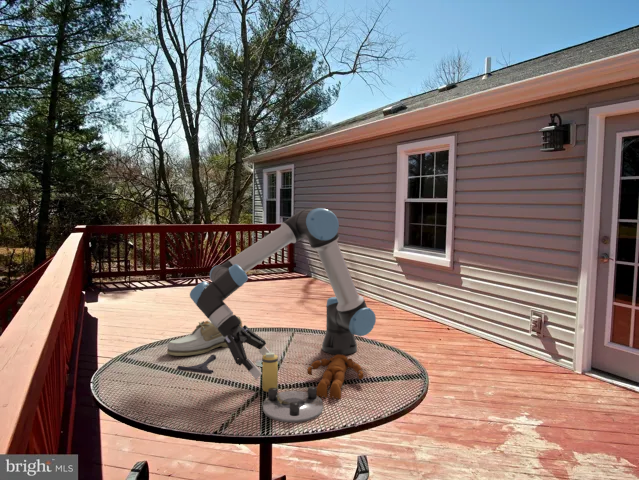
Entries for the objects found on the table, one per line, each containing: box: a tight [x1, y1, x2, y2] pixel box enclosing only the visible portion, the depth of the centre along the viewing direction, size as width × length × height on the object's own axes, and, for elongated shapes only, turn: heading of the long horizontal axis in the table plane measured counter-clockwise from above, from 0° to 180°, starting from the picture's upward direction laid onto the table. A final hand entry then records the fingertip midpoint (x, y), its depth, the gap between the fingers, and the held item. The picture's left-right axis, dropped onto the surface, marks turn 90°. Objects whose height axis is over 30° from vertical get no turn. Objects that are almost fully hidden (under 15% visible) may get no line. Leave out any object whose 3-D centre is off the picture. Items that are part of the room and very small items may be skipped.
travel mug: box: [261, 352, 279, 393], centre depth 142 cm, size 5×5×12 cm
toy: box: [306, 354, 365, 400], centre depth 151 cm, size 20×7×30 cm
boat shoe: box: [166, 316, 244, 357], centre depth 185 cm, size 13×36×12 cm, turn 138°
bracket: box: [176, 354, 217, 374], centre depth 165 cm, size 14×15×3 cm
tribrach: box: [262, 385, 324, 423], centre depth 129 cm, size 18×18×4 cm
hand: (266, 369), depth 142 cm, fingers open, 13 cm apart
